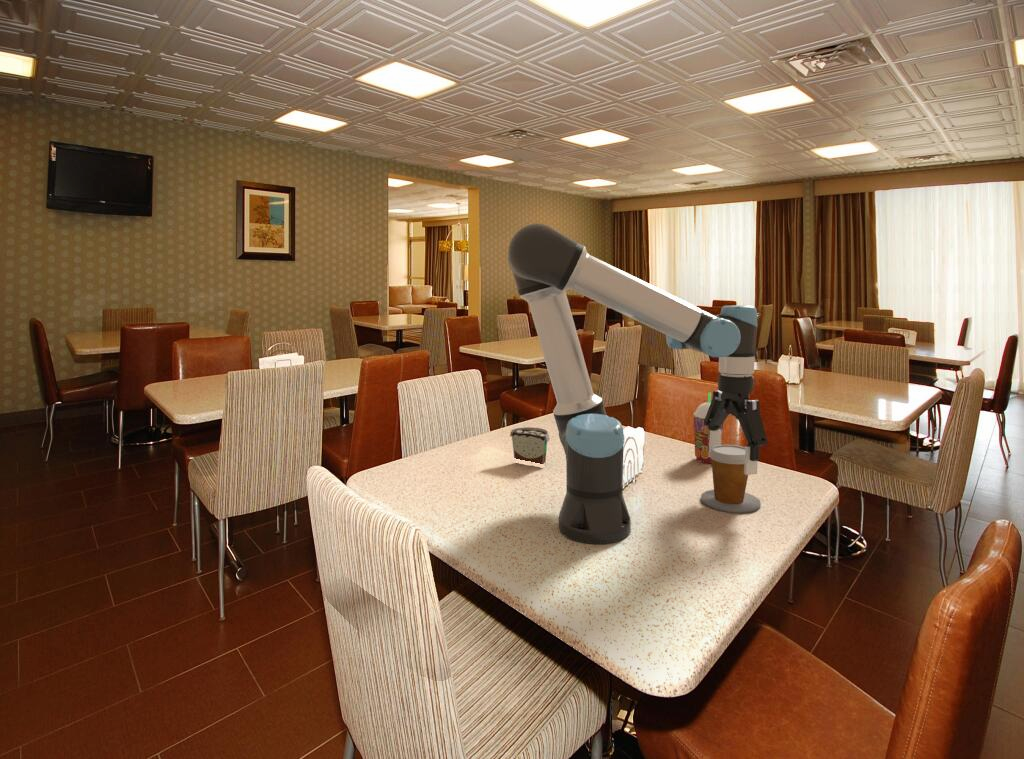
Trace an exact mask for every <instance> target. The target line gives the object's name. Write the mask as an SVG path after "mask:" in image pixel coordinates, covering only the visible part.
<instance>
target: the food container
mask: <svg viewBox="0 0 1024 759" xmlns="http://www.w3.org/2000/svg"><path fill="white" fill-rule="evenodd" d="M509 437H511V441H512V450H513V459H514V458H516V459H520V460H525V461H531V462H535V463H540V464H544V463H545V464H546V459H547V450H548V449H547V448H548V442H549V441H550V439H551V438H550V434H549V432H548V430H546V429H543V428H540V427H533V426H532V427H531V426H529V427H525V426H524V427H517V428H512V429H511V430H510V434H509Z"/></svg>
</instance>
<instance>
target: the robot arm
mask: <svg viewBox="0 0 1024 759" xmlns="http://www.w3.org/2000/svg"><path fill="white" fill-rule="evenodd" d="M507 249H508V250H507V259H508V265H509V268H510V270H511V272H512V276H513V280H514V282H515V287H516V289H517V293H518V296H519V298H520V299H522V300H524V301H525V302H527V303H528V306H529V307H528V308H529V309H530V313H531V317H532V320H533V323H534V327H535V331H536V333H537V337H538V342H539V345H540V348H541V351H542V355H543V358H544V361H545V366H546V368H547V373H548V375H549V379H550V383H551V385H552V386H551V387H552V389H553V393H554V395H555V396H554V397H555V399H556V405H555V406H554V408H553V410H552V413H553V417H554V420H555V423H556V427H557V430H558V437H559V441H560V443H561V446H562V448H563V450H564V454H565V458H566V459H565V460H566V461H565V462H566V464H565V466H566V474H565V476H566V488H565V489H566V490H565V491H566V493H565V496H564V500H563V502H562V504H561V508H560V511H559V514H558V518H557V521H558V522H557V523H558V524H557V525H558V527H557V528H559V529H558V531H559V530H560V531H559V532H560V533H561V534H562V536H564V535H565V536H564V537H566V538H568V539H571V540H573V541H575V542H580V543H585V544H595V545H596V544H599V545H600V544H610V543H616V542H619V541H621V540H624V539H625V538H627V537H628V536H629V535H630V534H631V531H632V530H631V529H632V528H631V527H632V526H631V525H632V520H631V516H630V513H629V510H628V507H627V503H626V502H625V498H624V494H623V490H624V489H623V487H624V486H623V482H624V444H625V434H624V427H623V425H622V423H621V422H620V421H619V420H618V419H616V417H615V418H614V417H613V416H609V415H607V412H606V409H605V405H604V401H603V398H602V397H601V396H599V395H597V394H595V393H594V390H593V386H592V383H591V379H590V375H589V373H588V368H587V366H586V361H585V358H584V353H583V350H582V347H581V346H582V345H581V342H580V338H579V336H578V331H577V328H576V324H575V321H574V318H573V314H572V311H571V306H570V303H569V299H568V296H567V290H571V291H573V292H576V293H578V294H579V295H582V296H584V297H587V298H588V299H591V300H593V301H594V302H597V303H598V304H601V305H603V306H604V307H607V308H609V309H612V310H613V311H615V312H618V313H620V314H622V315H624V316H626V317H628V318H631V319H632V320H635V321H637V322H638V323H641V324H643V325H645V326H647V327H649V328H651V329H653V330H656V331H658V332H660V333H662V334H664V335H665V341H666V344H667V347H669V349H673V350H675V349H676V350H682V351H683V350H687V349H688V350H693V351H696V352H698V353H703V354H705V355H707V356H709V357H711V358H718V370H717V371H718V373H719V375H718V377H717V379H718V380H717V389H718V390H713V391H712V395H711V396H712V397H711V401H710V402H711V404H710V406H709V409H708V412H707V414H706V417H705V420H704V425H707V426H708V429H709V452H710V451H711V448H712V447H713V446H716V445H722V439H721V433H722V434H723V430H717V429H722V428H721V425H722V424H723V425H724V422H725V421H726V419H727V418H728V416H729V415H731V416H733V417H735V419H736V420H737V421H738V422H739V424H740V426H741V429H742V432H743V435H744V437H745V440H746V443H747V444H746V445H745V446H744V447H745V466H744V474H745V475H748V476H749V475H750V476H751V475H757V474H758V464H759V458H760V447H762V446H768V439H767V434H766V430H765V427H764V423H763V419H762V415H761V410H760V400H759V399H754V400H753V399H751V400H750V397H749V396H750V394H751V393H753V392H754V389H755V388H754V387H755V377H754V376H753V375H752V374H754V373H755V363H756V362H755V360H756V359H755V358H756V345H757V332H758V326H759V325H758V310H757V308H756V307H755V306H754V305H746V304H745V305H741V304H739V305H734V304H733V305H723V306H722V307H721V310H720V313H719V314H712V313H710V312H707V311H706V310H703V309H702V308H700V307H697V306H695V305H694V304H692V303H689V302H688V301H686V300H683V299H681V298H679V297H677V296H675V295H673V294H671V293H669V292H667V291H665V290H663V289H662V288H661V289H660V288H659V287H656V285H655V286H654V285H652V284H651V283H648V282H647V281H645V280H642V279H641V278H638V277H637V276H634V275H632V274H630V273H629V272H626V271H624V270H621V269H620V268H617V267H616V266H614V265H611V264H609V263H607V262H605V261H604V260H601V259H600V258H597V257H595V256H593V255H591V254H589V253H588V251H587V248H586V246H585V245H583V244H581V243H579V242H577V241H575V240H574V239H571V238H570V237H568V236H566V235H564V234H563V233H562V232H560V231H558V230H557V229H556V228H553V227H551V226H550V225H547V224H543V223H531V224H527V225H525V226H523V227H521V228H519V229H518V231H516V232H515V233H514V234H513V236H512V238H511V239H510V241H509V244H508V248H507ZM710 419H711V420H710ZM709 457H710V455H709Z"/></svg>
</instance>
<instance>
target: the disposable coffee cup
mask: <svg viewBox="0 0 1024 759" xmlns="http://www.w3.org/2000/svg"><path fill="white" fill-rule="evenodd" d="M745 447H746V446H741V445H735V444H721V445H716V446H713V447H712V448H711V451H710V452H709V455H710V458H711V463H710V464H711V471H712V473H711V474H712V483H713V490H714V495H715V499H716V500H717V501H719V502H722V503H726V504H739V503H742V502H743V500H744V495H745V493H746V489H747V485H748V484H747V483H748V479H749V475H745V474H744V466H745Z"/></svg>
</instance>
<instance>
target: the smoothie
mask: <svg viewBox="0 0 1024 759" xmlns="http://www.w3.org/2000/svg"><path fill="white" fill-rule="evenodd" d="M711 396H712V393H711V392H708V395H707V397H708V398H707V402H703V403H700V404H699V405H698V406H697V408H696V409H695V411H694V412H693V432H694V456H695V457H696V460H697V461H698V462H700V463H704V464H712V463H711V458H710V457H709V429H708V426H707V425H704V420H705V417H706V414H707V412H708V409H709V406H710V404H711V401H712V397H711ZM710 420H711V419H710ZM721 428H722V429H717V430H722V431H723V430H724V429H723V428H724V423H723V424H722V425H721ZM722 436H723V432H722V433H721V440H722V438H723V437H722Z"/></svg>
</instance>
